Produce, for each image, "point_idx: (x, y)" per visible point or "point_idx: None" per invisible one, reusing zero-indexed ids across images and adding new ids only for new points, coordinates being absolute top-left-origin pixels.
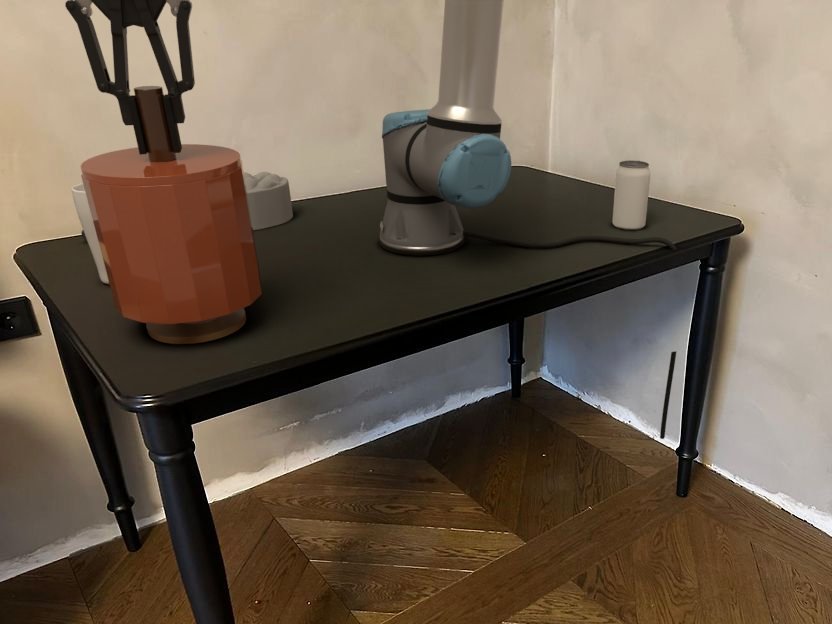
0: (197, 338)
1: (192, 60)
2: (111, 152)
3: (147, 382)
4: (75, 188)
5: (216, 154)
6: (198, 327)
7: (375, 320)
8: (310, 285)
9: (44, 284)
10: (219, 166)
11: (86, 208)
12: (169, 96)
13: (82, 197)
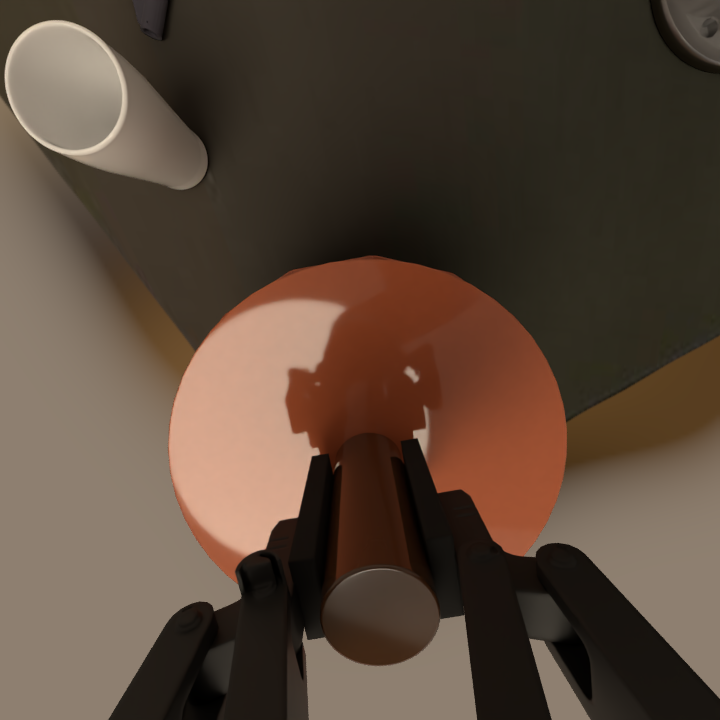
0: None
1: (674, 653)
2: (194, 371)
3: None
4: (14, 89)
5: (500, 411)
6: None
7: (601, 364)
8: (508, 216)
9: (60, 170)
10: (527, 543)
11: (89, 165)
12: (458, 590)
13: (68, 156)
